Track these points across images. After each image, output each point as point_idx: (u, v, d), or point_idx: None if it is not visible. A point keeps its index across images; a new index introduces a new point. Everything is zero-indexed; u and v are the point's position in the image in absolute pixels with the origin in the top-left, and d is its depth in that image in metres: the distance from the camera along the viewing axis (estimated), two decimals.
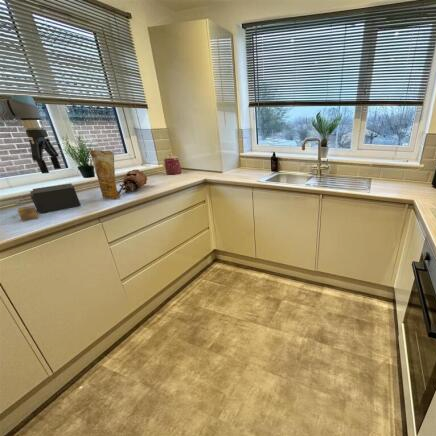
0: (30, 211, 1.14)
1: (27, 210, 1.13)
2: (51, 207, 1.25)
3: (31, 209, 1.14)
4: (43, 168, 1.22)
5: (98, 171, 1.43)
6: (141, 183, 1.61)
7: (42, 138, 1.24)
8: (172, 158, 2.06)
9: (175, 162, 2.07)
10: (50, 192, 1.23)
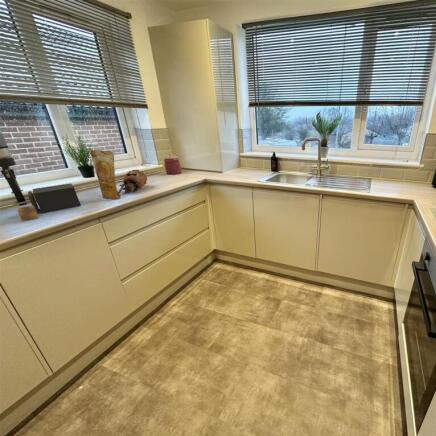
0: (30, 211, 1.14)
1: (27, 210, 1.13)
2: (51, 207, 1.25)
3: (31, 209, 1.14)
4: (21, 200, 1.21)
5: (98, 171, 1.43)
6: (141, 183, 1.61)
7: (9, 167, 1.16)
8: (172, 158, 2.06)
9: (175, 162, 2.07)
10: (50, 192, 1.23)
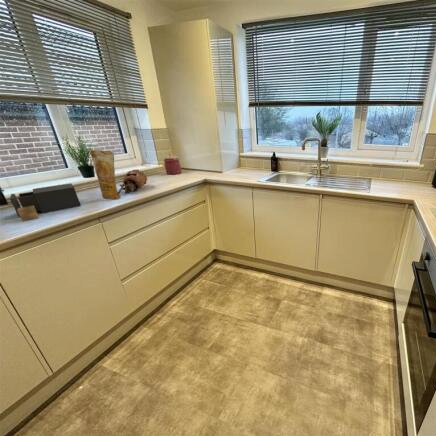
0: (30, 211, 1.14)
1: (27, 210, 1.13)
2: (51, 207, 1.25)
3: (31, 209, 1.14)
4: (2, 200, 1.16)
5: (98, 171, 1.43)
6: (141, 183, 1.61)
7: None
8: (172, 158, 2.06)
9: (175, 162, 2.07)
10: (50, 192, 1.23)
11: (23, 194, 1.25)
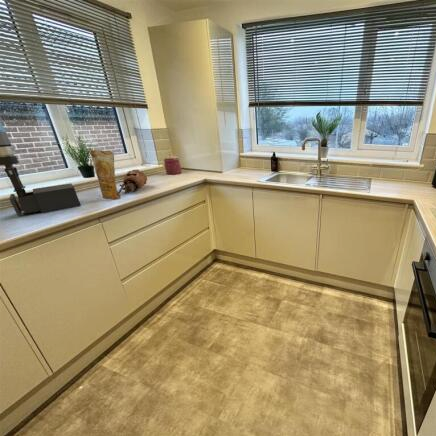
0: None
1: None
2: (51, 207, 1.25)
3: None
4: None
5: (98, 171, 1.43)
6: (141, 183, 1.61)
7: (12, 165, 1.17)
8: (172, 158, 2.06)
9: (175, 162, 2.07)
10: (50, 192, 1.23)
11: None
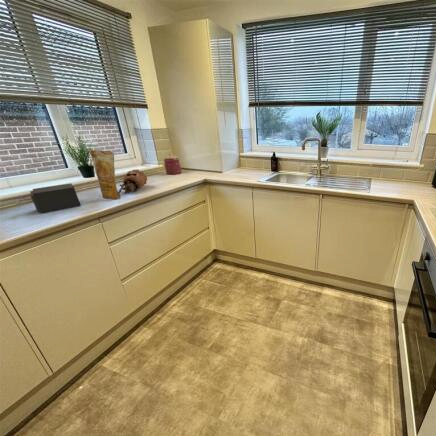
0: None
1: None
2: (51, 207, 1.25)
3: None
4: None
5: (98, 171, 1.43)
6: (141, 183, 1.61)
7: None
8: (172, 158, 2.06)
9: (175, 162, 2.07)
10: (50, 192, 1.23)
11: None
